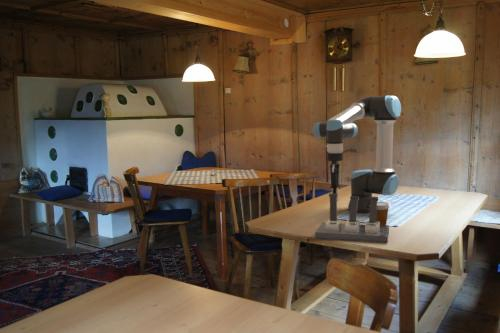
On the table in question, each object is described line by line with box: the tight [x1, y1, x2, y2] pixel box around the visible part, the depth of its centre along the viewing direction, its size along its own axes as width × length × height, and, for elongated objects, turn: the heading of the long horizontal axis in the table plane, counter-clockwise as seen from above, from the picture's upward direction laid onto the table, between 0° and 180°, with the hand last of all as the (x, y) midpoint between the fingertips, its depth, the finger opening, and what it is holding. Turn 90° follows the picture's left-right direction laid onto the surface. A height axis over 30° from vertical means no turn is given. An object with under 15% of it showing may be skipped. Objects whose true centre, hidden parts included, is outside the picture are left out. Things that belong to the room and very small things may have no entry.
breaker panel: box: [314, 218, 390, 244], centre depth 223 cm, size 18×32×6 cm, turn 71°
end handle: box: [368, 196, 379, 223], centre depth 222 cm, size 2×4×13 cm
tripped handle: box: [328, 192, 339, 221], centre depth 224 cm, size 2×4×13 cm, turn 72°
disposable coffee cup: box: [376, 201, 390, 226], centre depth 235 cm, size 10×10×12 cm
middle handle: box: [348, 195, 359, 222], centre depth 225 cm, size 2×4×13 cm
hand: (335, 200), depth 229 cm, fingers closed
